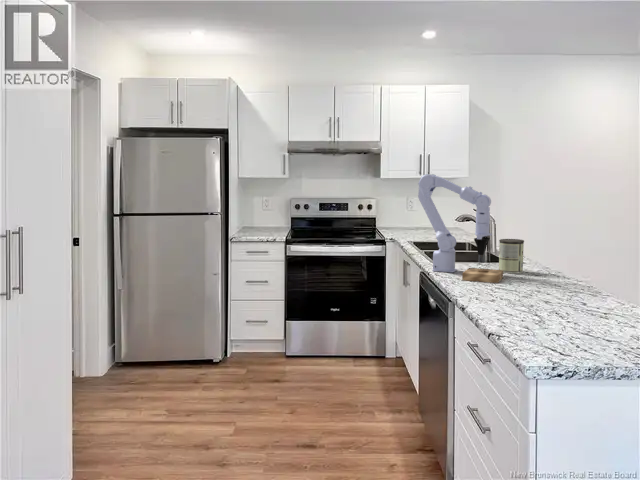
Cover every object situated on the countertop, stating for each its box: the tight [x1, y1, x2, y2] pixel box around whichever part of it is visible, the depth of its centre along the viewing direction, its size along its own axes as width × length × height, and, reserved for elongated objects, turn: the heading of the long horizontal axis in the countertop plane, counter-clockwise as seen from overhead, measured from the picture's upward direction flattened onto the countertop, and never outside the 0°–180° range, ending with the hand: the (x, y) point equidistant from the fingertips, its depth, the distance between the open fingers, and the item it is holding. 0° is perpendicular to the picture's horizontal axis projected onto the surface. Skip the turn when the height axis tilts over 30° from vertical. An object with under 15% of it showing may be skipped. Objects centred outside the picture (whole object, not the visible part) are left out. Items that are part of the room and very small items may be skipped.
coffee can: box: [498, 238, 525, 275], centre depth 245 cm, size 10×10×14 cm
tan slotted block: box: [461, 267, 504, 284], centre depth 229 cm, size 14×14×3 cm
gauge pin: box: [478, 251, 486, 263], centre depth 241 cm, size 2×2×9 cm
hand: (481, 254), depth 241 cm, fingers closed on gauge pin, 2 cm apart
